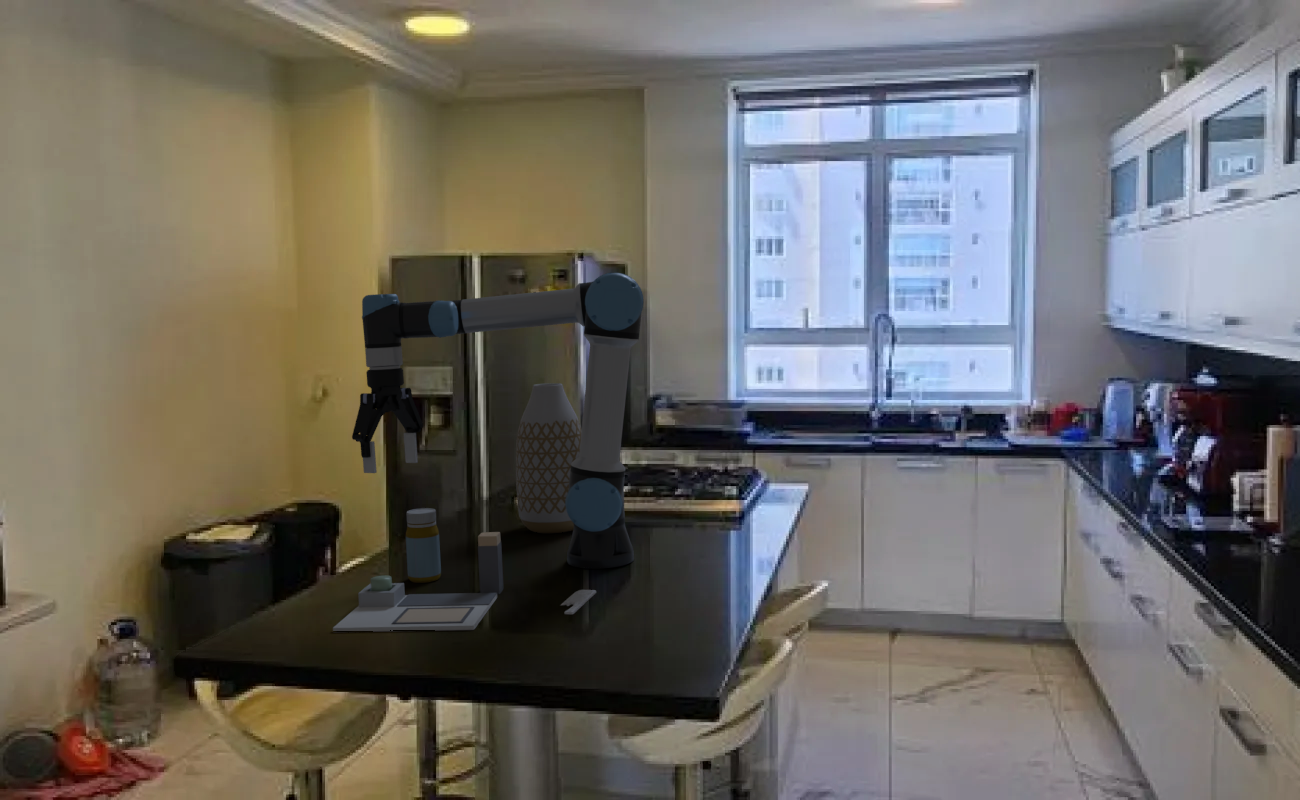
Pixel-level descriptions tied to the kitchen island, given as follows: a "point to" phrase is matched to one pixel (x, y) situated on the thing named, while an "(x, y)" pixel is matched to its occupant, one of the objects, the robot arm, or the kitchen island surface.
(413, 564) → the bottle
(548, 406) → the vase
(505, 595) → the kitchen island surface
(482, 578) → the two-tone square rod
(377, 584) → the button
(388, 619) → the board
